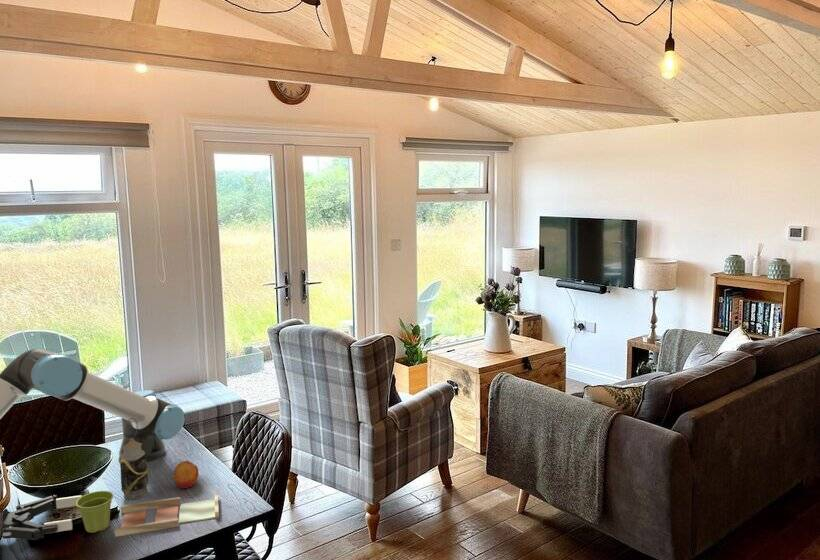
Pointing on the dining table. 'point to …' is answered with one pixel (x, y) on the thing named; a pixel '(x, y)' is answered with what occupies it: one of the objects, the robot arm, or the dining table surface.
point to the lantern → (133, 469)
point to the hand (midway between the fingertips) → (77, 511)
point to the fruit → (185, 474)
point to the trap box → (165, 514)
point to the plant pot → (95, 510)
